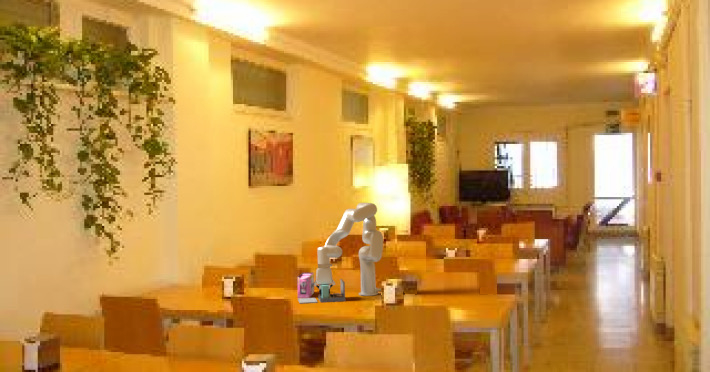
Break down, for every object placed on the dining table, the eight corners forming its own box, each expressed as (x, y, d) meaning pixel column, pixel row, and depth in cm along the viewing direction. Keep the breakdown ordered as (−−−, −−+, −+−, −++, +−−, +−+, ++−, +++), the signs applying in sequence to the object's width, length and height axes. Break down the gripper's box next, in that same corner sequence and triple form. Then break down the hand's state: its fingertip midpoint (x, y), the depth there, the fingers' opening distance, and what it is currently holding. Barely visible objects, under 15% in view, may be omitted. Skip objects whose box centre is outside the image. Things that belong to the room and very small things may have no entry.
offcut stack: (339, 298, 522) (339, 292, 521) (343, 301, 510) (343, 295, 510) (333, 298, 521) (332, 293, 520) (337, 301, 509) (337, 296, 509)
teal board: (327, 298, 520) (326, 283, 520) (329, 301, 508) (328, 285, 508) (320, 299, 520) (320, 283, 520) (322, 302, 508) (322, 286, 508)
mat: (315, 298, 521) (315, 297, 521) (317, 302, 505) (317, 301, 505) (297, 299, 520) (297, 298, 520) (299, 303, 504) (299, 302, 504)
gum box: (309, 298, 524) (308, 277, 524) (297, 298, 525) (296, 277, 524) (314, 292, 548) (313, 272, 547) (302, 292, 548) (302, 272, 548)
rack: (342, 297, 523) (341, 278, 523) (345, 301, 508) (344, 282, 508) (318, 298, 521) (317, 279, 521) (320, 302, 506) (319, 283, 506)
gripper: (336, 265, 518) (337, 293, 519) (310, 266, 516) (311, 295, 517) (337, 266, 511) (338, 295, 511) (311, 267, 509) (312, 296, 509)
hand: (324, 295), depth 514 cm, fingers closed on teal board, 4 cm apart
